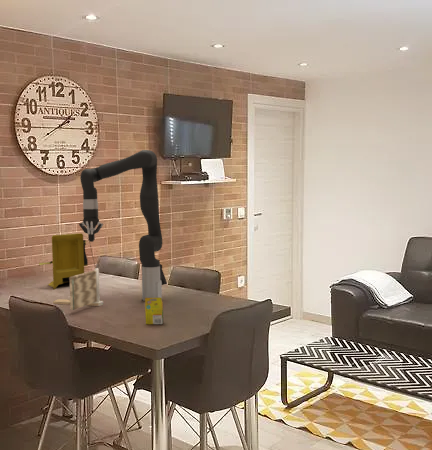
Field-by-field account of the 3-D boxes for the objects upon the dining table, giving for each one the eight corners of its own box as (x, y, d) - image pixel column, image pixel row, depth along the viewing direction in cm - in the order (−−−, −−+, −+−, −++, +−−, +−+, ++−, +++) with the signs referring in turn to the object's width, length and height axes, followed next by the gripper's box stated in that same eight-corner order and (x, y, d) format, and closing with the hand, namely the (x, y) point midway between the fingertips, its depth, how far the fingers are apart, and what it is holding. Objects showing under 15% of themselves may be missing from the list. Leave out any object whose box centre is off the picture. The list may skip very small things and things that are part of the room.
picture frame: (103, 303, 293) (102, 267, 291) (99, 306, 288) (98, 269, 286) (58, 301, 299) (56, 266, 297) (53, 303, 294) (51, 267, 292)
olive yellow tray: (88, 280, 354) (86, 230, 351) (97, 283, 343) (96, 232, 340) (36, 286, 336) (34, 234, 333) (44, 290, 325) (42, 236, 322)
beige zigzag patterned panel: (94, 301, 289) (93, 270, 288) (97, 301, 289) (96, 270, 287) (70, 309, 273) (69, 276, 271) (73, 310, 272) (71, 277, 271)
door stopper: (153, 286, 335) (152, 265, 334) (148, 284, 340) (147, 263, 339) (167, 284, 340) (166, 263, 339) (162, 282, 345) (161, 262, 344)
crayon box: (163, 322, 257) (162, 296, 256) (162, 324, 254) (162, 297, 253) (146, 322, 257) (145, 296, 256) (145, 324, 254) (144, 297, 253)
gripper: (75, 208, 302) (76, 242, 304) (99, 208, 299) (100, 242, 301) (82, 207, 309) (83, 240, 311) (105, 207, 306) (106, 240, 308)
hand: (91, 241), depth 306 cm, fingers closed
